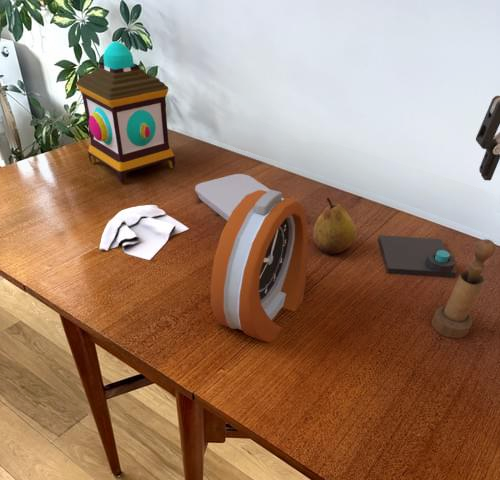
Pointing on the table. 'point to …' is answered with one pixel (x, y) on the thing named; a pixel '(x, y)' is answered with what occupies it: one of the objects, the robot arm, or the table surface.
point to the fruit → (333, 230)
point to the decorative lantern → (125, 114)
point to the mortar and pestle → (463, 296)
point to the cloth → (140, 231)
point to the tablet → (227, 192)
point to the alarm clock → (260, 264)
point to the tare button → (442, 256)
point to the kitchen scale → (415, 256)
